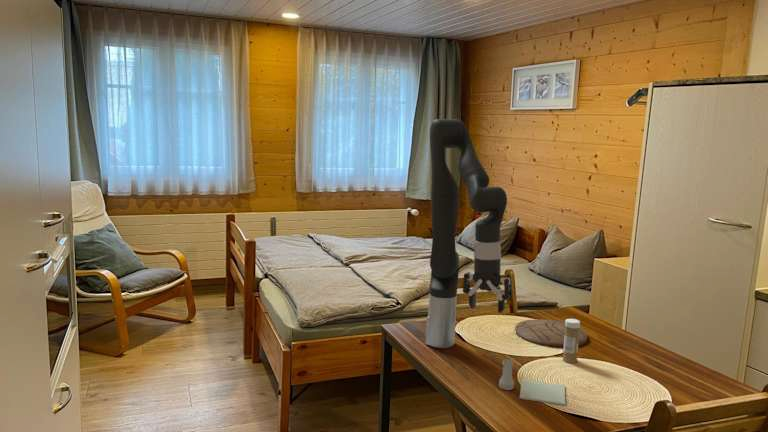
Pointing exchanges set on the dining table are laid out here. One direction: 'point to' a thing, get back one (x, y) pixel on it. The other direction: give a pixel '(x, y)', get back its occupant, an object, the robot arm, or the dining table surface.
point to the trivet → (546, 332)
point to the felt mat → (542, 392)
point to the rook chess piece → (507, 375)
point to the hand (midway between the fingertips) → (486, 309)
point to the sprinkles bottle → (571, 340)
